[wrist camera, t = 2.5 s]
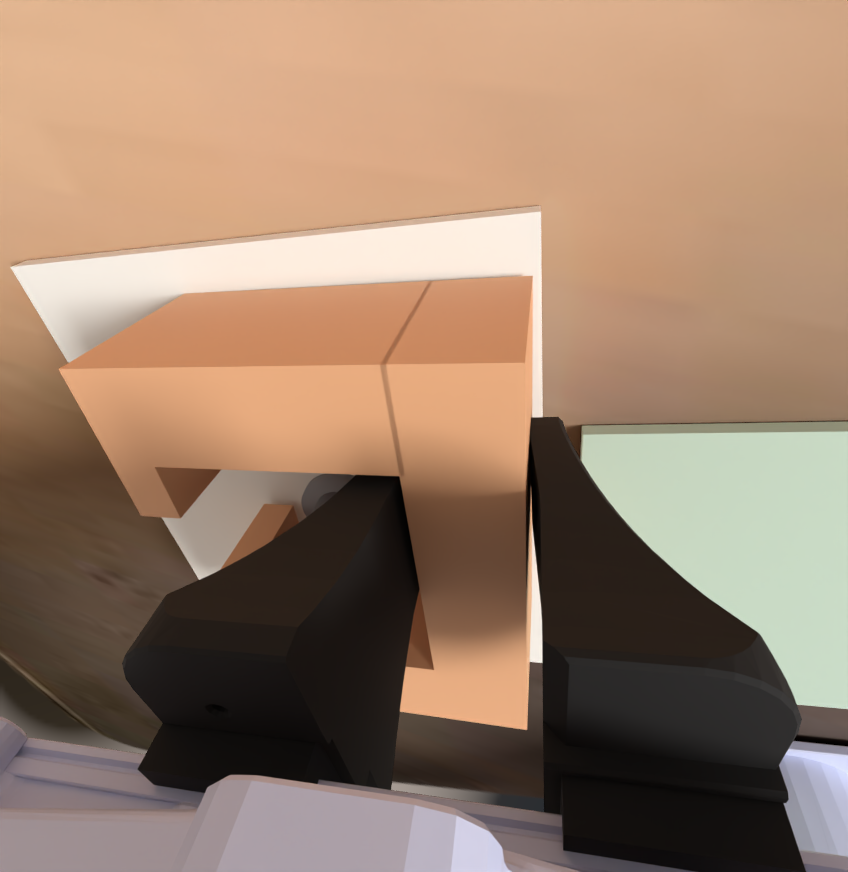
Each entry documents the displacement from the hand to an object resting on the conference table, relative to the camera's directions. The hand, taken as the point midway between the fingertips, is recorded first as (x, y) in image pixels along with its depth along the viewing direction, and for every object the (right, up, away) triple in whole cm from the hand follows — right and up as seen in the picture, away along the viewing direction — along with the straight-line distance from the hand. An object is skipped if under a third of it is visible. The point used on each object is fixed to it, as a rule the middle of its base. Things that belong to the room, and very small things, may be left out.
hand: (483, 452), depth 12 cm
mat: (+9, -4, +3) cm, 11 cm away
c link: (-3, 0, +2) cm, 3 cm away
